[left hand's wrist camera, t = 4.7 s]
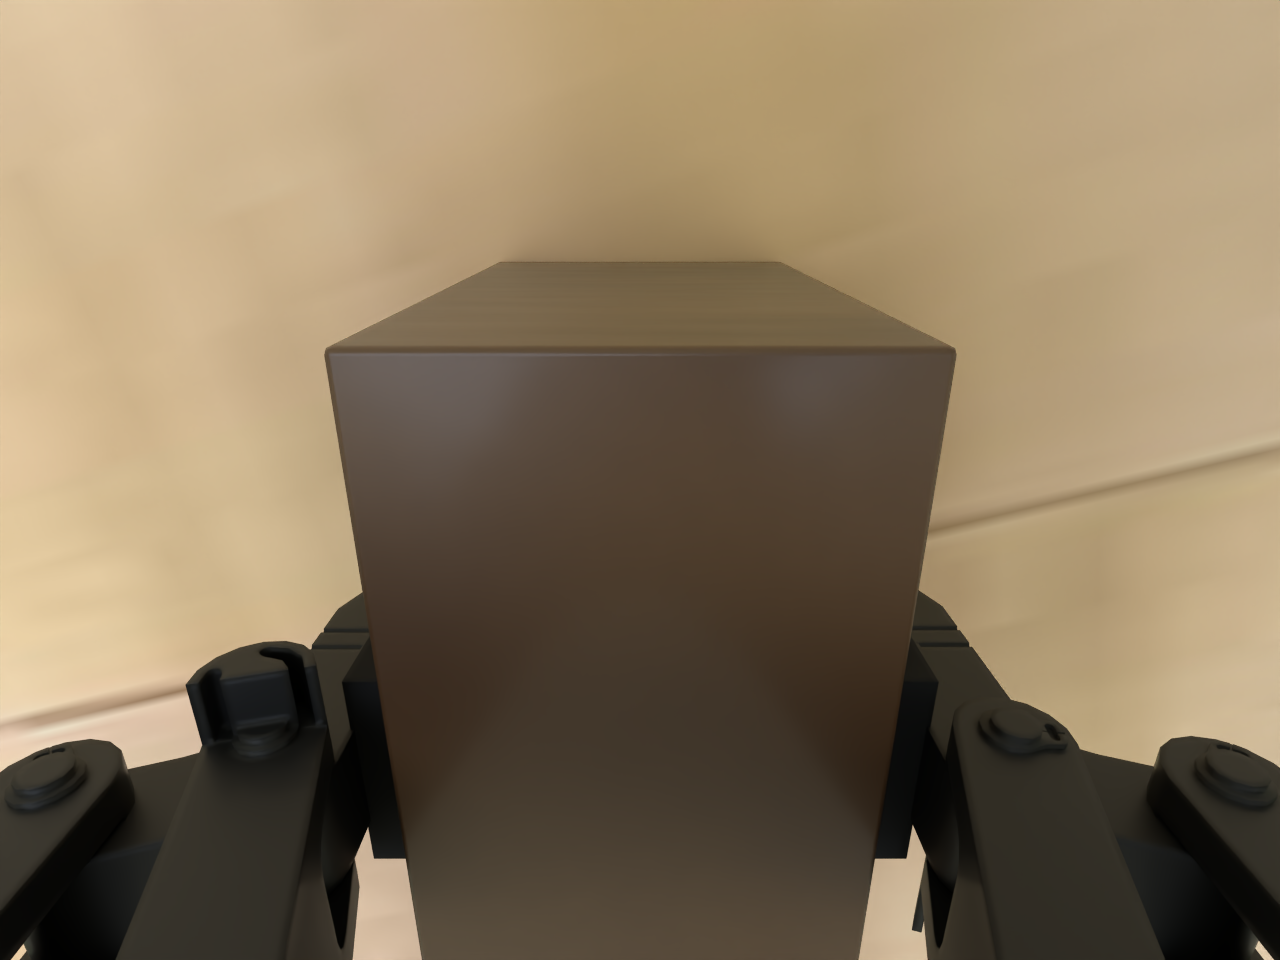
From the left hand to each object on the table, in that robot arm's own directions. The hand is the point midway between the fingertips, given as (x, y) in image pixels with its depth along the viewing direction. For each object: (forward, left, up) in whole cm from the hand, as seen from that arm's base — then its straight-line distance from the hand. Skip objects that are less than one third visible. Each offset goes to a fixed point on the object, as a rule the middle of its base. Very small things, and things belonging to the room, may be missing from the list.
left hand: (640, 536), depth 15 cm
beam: (+27, +12, -1) cm, 29 cm away
